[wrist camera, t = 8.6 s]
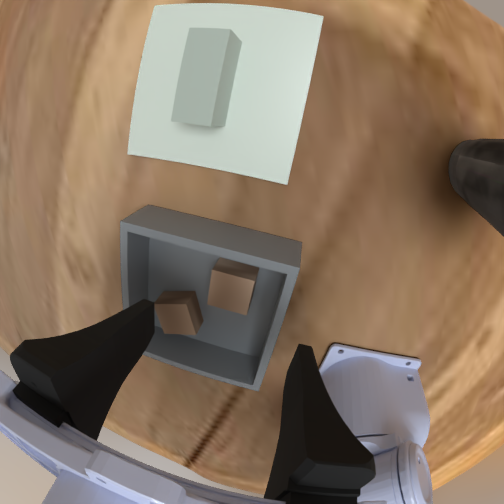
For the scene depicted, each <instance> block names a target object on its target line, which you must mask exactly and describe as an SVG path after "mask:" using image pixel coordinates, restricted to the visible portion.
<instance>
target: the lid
mask: <svg viewBox="0 0 504 504" xmlns="http://www.w3.org/2000/svg"><path fill="white" fill-rule="evenodd" d="M322 22H323V16H320V15H315V14H310V13H305V12H299V11H293V10H287V9H280V8H272V7H264V6H254V5H241V4H220V3H190V4H169V5H156V6H155V7H154V10H153V14H152V17H151V21H150V25H149V29H148V33H147V37H146V41H145V46H144V50H143V55H142V59H141V64H140V69H139V75H138V80H137V86H136V92H135V98H134V104H133V111H132V119H131V127H130V135H129V144H128V154H130V155H137V156H144V157H150V158H157V159H163V160H169V161H175V162H181V163H186V164H192V165H197V166H202V167H208V168H213V169H218V170H223V171H228V172H232V173H237V174H242V175H246V176H251V177H255V178H260V179H264V180H269V181H273V182H277V183H281V184H285V185H287V183H288V179H289V175H290V171H291V166H292V162H293V157H294V153H295V149H296V144H297V140H298V135H299V131H300V126H301V122H302V117H303V113H304V108H305V104H306V99H307V94H308V90H309V85H310V80H311V76H312V71H313V66H314V61H315V57H316V52H317V47H318V42H319V37H320V32H321V27H322Z"/></svg>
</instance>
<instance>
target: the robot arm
mask: <svg viewBox="0 0 504 504" xmlns="http://www.w3.org/2000/svg"><path fill="white" fill-rule="evenodd" d="M154 308H155V302H152V301H149V300H146V299H142V300H141V301H139V302H137V303H135V304H133V305H132V306H130V307H128V308H126V309H124V310H123V311H121V312H119V313H117V314H115V315H113V316H112V317H109V318H107V319H105V320H103V321H101V322H99V323H97V324H95V325H92V326H90V327H87V328H84V329H82V330H79V331H75V332H72V333H68V334H65V335H61V336H56V337H50V338H43V339H32V340H24V341H23V342H22V343H21V344H20V345H19V346H18V347H17V348H16V349H15V350H14V351H13V352H12V353H11V355H10V360H11V364H12V366H13V368H14V370H15V372H16V374H17V376H18V377H19V380H20V382H19V383H18V384H16V383H15V382H14V381H13V380H12V379H11V378H10V377H9V376H8V375H6V374H5V373H4V372H3V371H1V370H0V431H1V432H2V433H3V434H4V435H5V436H6V437H8V438H9V439H10V440H11V441H12V442H13V443H14V444H16V445H17V446H18V447H19V448H21V450H23V451H24V452H25V453H26V454H27V455H29V456H30V457H31V458H32V459H34V460H35V461H36V462H38V463H39V464H40V465H41V466H43V467H44V468H46V469H47V470H48V471H49V472H51V473H52V474H54V475H55V476H56V477H57V479H56V480H55V482H54V484H53V485H52V487H51V489H50V491H49V492H48V494H47V496H46V498H45V499H44V501H43V503H42V504H433V501H432V482H431V475H430V471H429V467H428V463H427V460H426V457H425V454H424V452H423V450H422V447H423V446H424V444H425V442H426V440H427V437H428V433H429V427H430V415H429V410H428V406H427V402H426V398H425V395H424V391H423V387H422V384H421V380H420V377H419V374H418V368H419V367H420V365H421V361H420V359H416V358H410V357H404V356H398V355H392V354H387V353H381V352H376V351H370V350H365V349H360V348H355V347H350V346H345V345H341V344H333V345H331V346H330V348H329V350H328V352H327V354H326V356H325V358H324V360H323V362H322V364H321V366H320V368H319V369H318V366H317V363H316V359H315V356H314V352H313V348H312V347H311V346H307V345H303V344H299V345H298V347H297V349H296V352H295V354H294V357H293V359H292V361H291V364H290V366H289V369H288V371H287V375H286V380H285V385H284V392H283V404H282V416H281V428H280V435H279V440H278V444H277V449H276V454H275V458H274V462H273V466H272V470H271V474H270V478H269V481H268V485H267V488H266V492H265V495H264V498H258V497H253V496H248V495H244V494H239V493H235V492H230V491H226V490H222V489H218V488H214V487H211V486H207V485H203V484H200V483H197V482H194V481H191V480H187V479H185V478H182V477H179V476H176V475H173V474H170V473H167V472H165V471H162V470H159V469H157V468H154V467H152V466H149V465H146V464H144V463H142V462H139V461H137V460H135V459H132V458H130V457H128V456H126V455H124V454H122V453H119V452H118V451H115V450H113V449H111V448H109V447H107V446H105V445H103V444H102V443H100V442H98V441H97V438H98V436H99V433H100V430H101V428H102V425H103V423H104V421H105V418H106V416H107V414H108V411H109V409H110V407H111V405H112V403H113V401H114V399H115V397H116V395H117V393H118V391H119V389H120V387H121V385H122V383H123V382H124V380H125V379H126V377H127V376H128V374H129V373H130V371H131V370H132V369H133V367H134V366H135V364H136V363H137V362H138V360H139V359H140V357H141V356H142V354H143V353H144V351H145V350H146V349H147V347H148V345H149V343H150V341H151V339H152V337H153V335H154V333H155V311H154ZM339 350H342V351H339ZM407 362H408V363H407Z"/></svg>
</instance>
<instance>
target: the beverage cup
mask: <svg viewBox="0 0 504 504" xmlns="http://www.w3.org/2000/svg"><path fill="white" fill-rule="evenodd" d="M449 177H450V182H451V184H452V186H453V188H454V190H455V191H456V192H457V193H458V194H459V195H460V196H461V197H462V198H463V199H464V200H465V201H466V202H467V203H468V204H469V205H470V206H471V207H472V208H473V209H474V210H476V211H477V212H478V213H479V214H480V215H481V216H482V217H483V218H485V219H486V220H487V221H488V222H489V223H490V224H491V225H492V226H493V227H494V228H495V229H496V230H497V231H498V232H499V233H500V234H501V235H503V236H504V139H478V140H467V141H464V142H462V143H460V144H459V145H458V146H457V147H456V148H455V150H454V151H453V153H452V154H451V158H450V161H449Z"/></svg>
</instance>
